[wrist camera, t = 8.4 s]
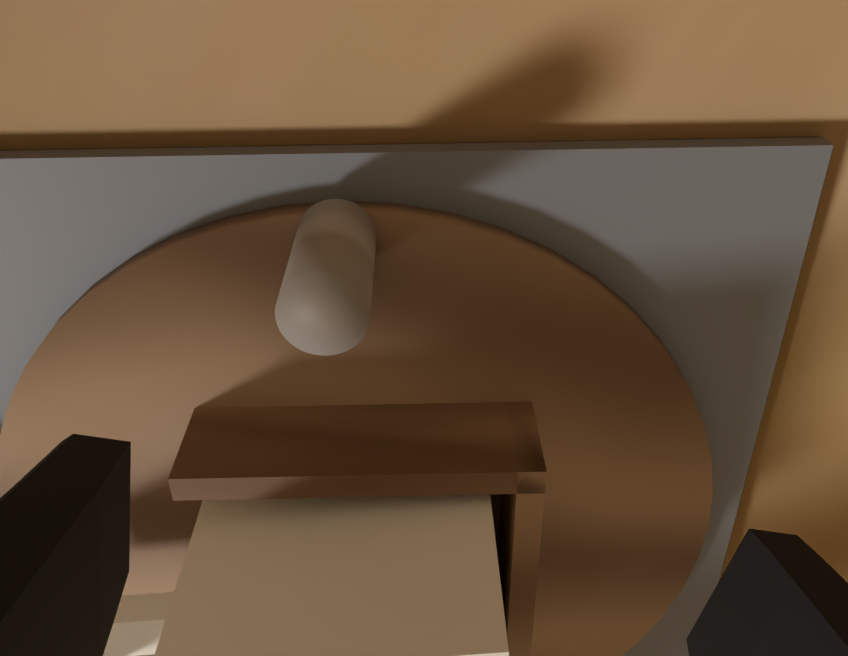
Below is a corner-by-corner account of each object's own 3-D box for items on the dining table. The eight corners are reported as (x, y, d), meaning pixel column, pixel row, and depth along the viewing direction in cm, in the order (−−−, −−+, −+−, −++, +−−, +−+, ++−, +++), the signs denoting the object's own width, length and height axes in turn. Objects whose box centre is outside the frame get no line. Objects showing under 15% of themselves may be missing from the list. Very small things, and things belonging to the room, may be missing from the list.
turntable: (654, 714, 26) (688, 839, 23) (98, 725, 26) (53, 852, 23) (776, 178, 16) (865, 264, 13) (-106, 195, 16) (-232, 284, 13)
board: (-220, 734, 27) (-242, 766, 26) (-643, 161, 16) (-706, 181, 15) (675, 716, 27) (684, 748, 26) (822, 137, 17) (847, 155, 16)
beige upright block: (482, 432, 19) (509, 652, 14) (495, 611, 22) (519, 840, 17) (-3, 472, 20) (-149, 699, 14) (81, 641, 23) (-14, 874, 18)
